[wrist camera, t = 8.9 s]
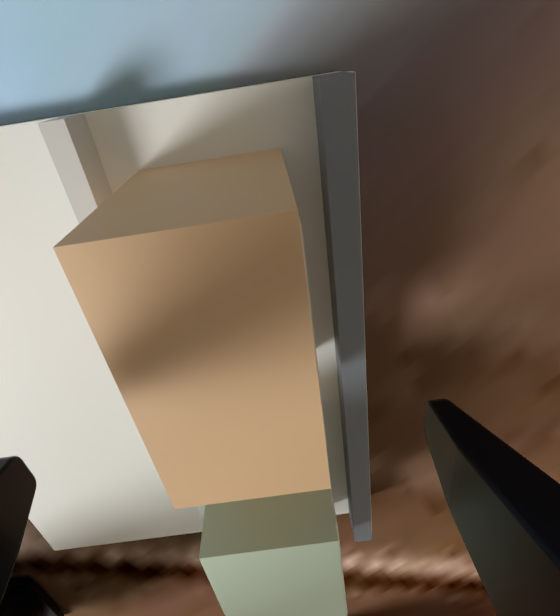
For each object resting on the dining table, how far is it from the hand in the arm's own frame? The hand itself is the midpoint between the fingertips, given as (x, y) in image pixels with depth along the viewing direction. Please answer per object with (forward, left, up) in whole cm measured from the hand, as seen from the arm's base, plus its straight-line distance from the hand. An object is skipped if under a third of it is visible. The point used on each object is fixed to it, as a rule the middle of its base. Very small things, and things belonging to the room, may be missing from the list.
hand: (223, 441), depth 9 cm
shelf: (-6, +5, -10) cm, 12 cm away
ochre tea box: (0, 0, -9) cm, 9 cm away
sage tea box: (-12, 0, -9) cm, 15 cm away
